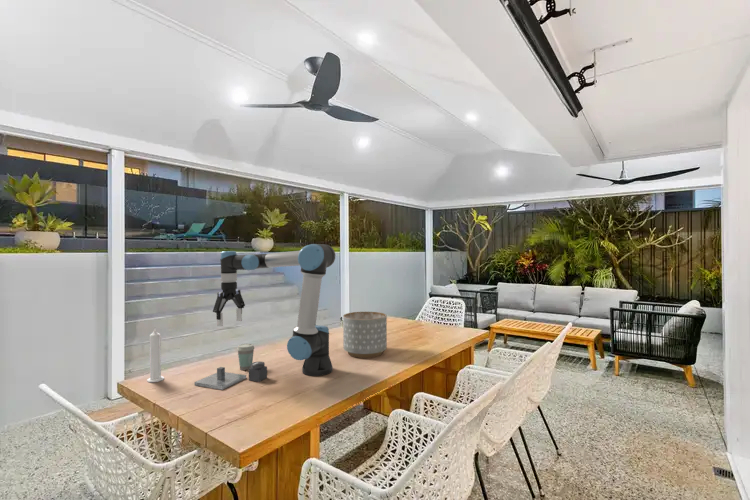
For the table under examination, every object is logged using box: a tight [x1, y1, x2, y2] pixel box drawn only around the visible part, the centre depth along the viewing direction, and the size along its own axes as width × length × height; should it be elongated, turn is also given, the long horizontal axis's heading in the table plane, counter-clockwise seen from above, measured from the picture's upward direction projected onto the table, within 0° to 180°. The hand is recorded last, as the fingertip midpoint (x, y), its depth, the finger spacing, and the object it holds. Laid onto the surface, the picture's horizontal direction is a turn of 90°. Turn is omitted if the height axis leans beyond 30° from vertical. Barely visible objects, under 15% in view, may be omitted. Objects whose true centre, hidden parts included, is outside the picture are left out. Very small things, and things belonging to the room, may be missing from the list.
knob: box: [248, 361, 268, 383], centre depth 187 cm, size 6×6×8 cm
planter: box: [342, 311, 388, 359], centre depth 230 cm, size 26×26×22 cm
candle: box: [146, 327, 165, 383], centre depth 186 cm, size 7×7×25 cm
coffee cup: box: [236, 343, 255, 371], centre depth 203 cm, size 8×8×12 cm
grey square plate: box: [193, 366, 247, 391], centre depth 183 cm, size 16×16×6 cm
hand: (229, 323), depth 198 cm, fingers open, 13 cm apart
